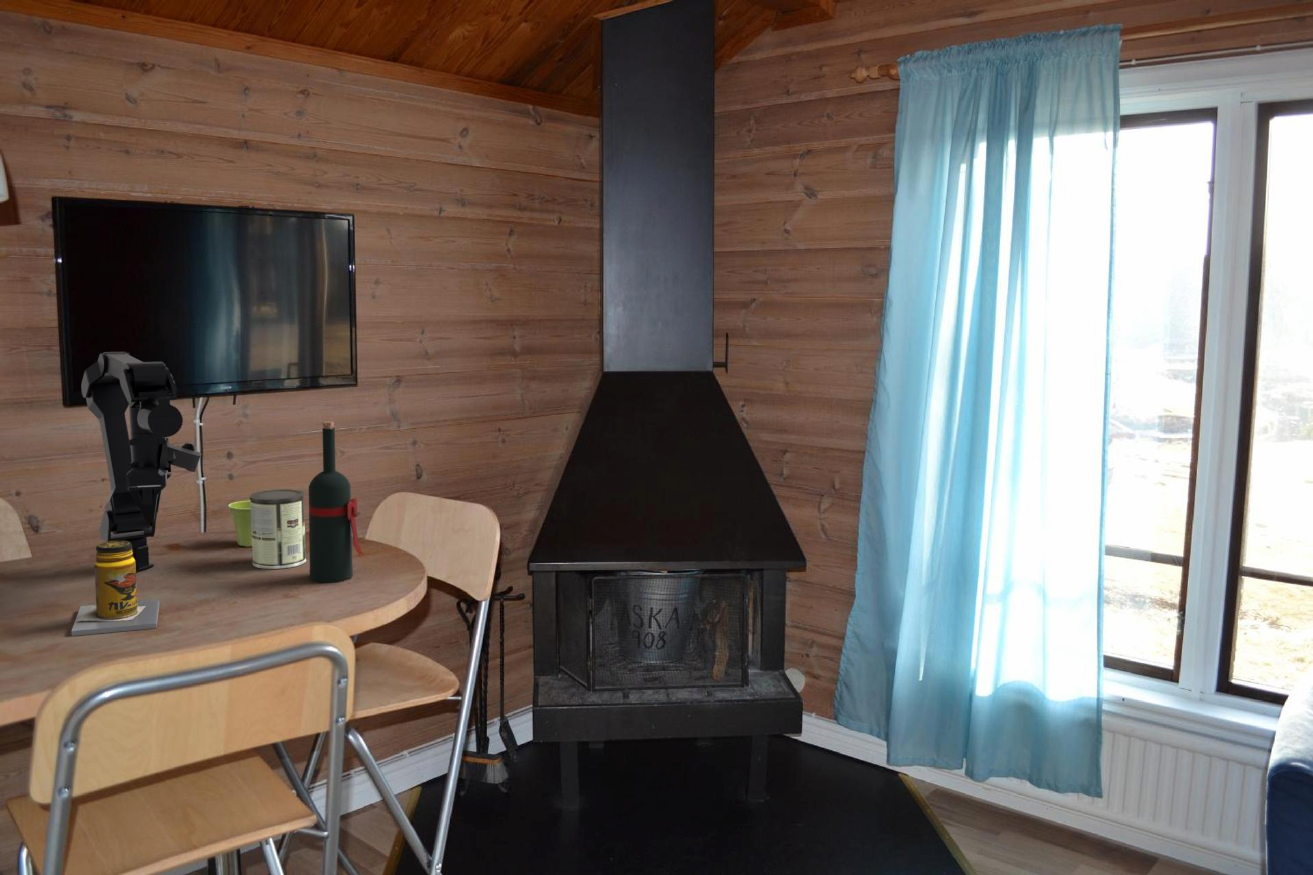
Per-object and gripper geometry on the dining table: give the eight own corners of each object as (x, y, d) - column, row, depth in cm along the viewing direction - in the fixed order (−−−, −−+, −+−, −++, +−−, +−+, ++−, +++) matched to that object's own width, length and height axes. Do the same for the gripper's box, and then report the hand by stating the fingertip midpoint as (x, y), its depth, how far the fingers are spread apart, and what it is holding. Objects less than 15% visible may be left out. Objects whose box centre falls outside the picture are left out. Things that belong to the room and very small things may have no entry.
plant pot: (248, 537, 232) (247, 498, 231) (285, 540, 229) (284, 501, 228) (219, 546, 223) (218, 506, 222) (257, 550, 220) (256, 510, 219)
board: (81, 610, 178) (80, 605, 177) (159, 603, 182) (159, 599, 182) (71, 635, 165) (71, 631, 165) (156, 627, 170) (156, 623, 169)
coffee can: (269, 554, 217) (267, 487, 215) (315, 558, 215) (314, 490, 213) (241, 567, 207) (238, 497, 205) (289, 571, 205) (287, 500, 203)
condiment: (132, 620, 170) (128, 548, 169) (76, 622, 169) (72, 549, 167) (146, 607, 178) (143, 538, 176) (92, 608, 176) (88, 538, 175)
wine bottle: (354, 584, 197) (351, 425, 193) (302, 581, 198) (298, 423, 194) (370, 573, 204) (368, 420, 200) (320, 570, 206) (317, 418, 202)
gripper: (194, 436, 182) (198, 524, 184) (199, 425, 200) (202, 506, 201) (123, 438, 178) (128, 529, 180) (134, 427, 196) (138, 510, 197)
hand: (152, 518), depth 190 cm, fingers open, 9 cm apart
